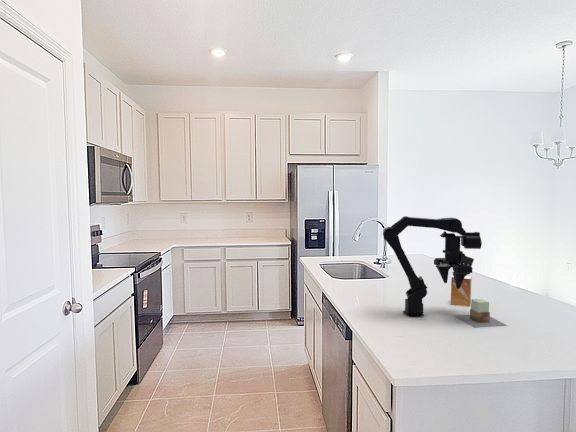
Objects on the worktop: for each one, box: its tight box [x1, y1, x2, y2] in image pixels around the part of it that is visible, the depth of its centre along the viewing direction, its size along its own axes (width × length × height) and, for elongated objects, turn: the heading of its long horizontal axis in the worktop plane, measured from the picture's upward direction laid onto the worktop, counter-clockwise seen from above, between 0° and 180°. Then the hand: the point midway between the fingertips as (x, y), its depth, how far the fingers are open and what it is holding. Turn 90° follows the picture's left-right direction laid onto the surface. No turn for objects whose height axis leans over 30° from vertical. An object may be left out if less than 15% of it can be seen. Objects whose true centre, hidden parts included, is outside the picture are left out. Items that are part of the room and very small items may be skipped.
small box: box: [450, 274, 473, 307], centre depth 170 cm, size 8×6×13 cm
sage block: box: [470, 298, 490, 313], centre depth 147 cm, size 4×4×4 cm
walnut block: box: [469, 308, 491, 323], centre depth 148 cm, size 5×5×4 cm
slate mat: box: [453, 314, 509, 329], centre depth 148 cm, size 14×14×1 cm
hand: (451, 285), depth 153 cm, fingers open, 9 cm apart
